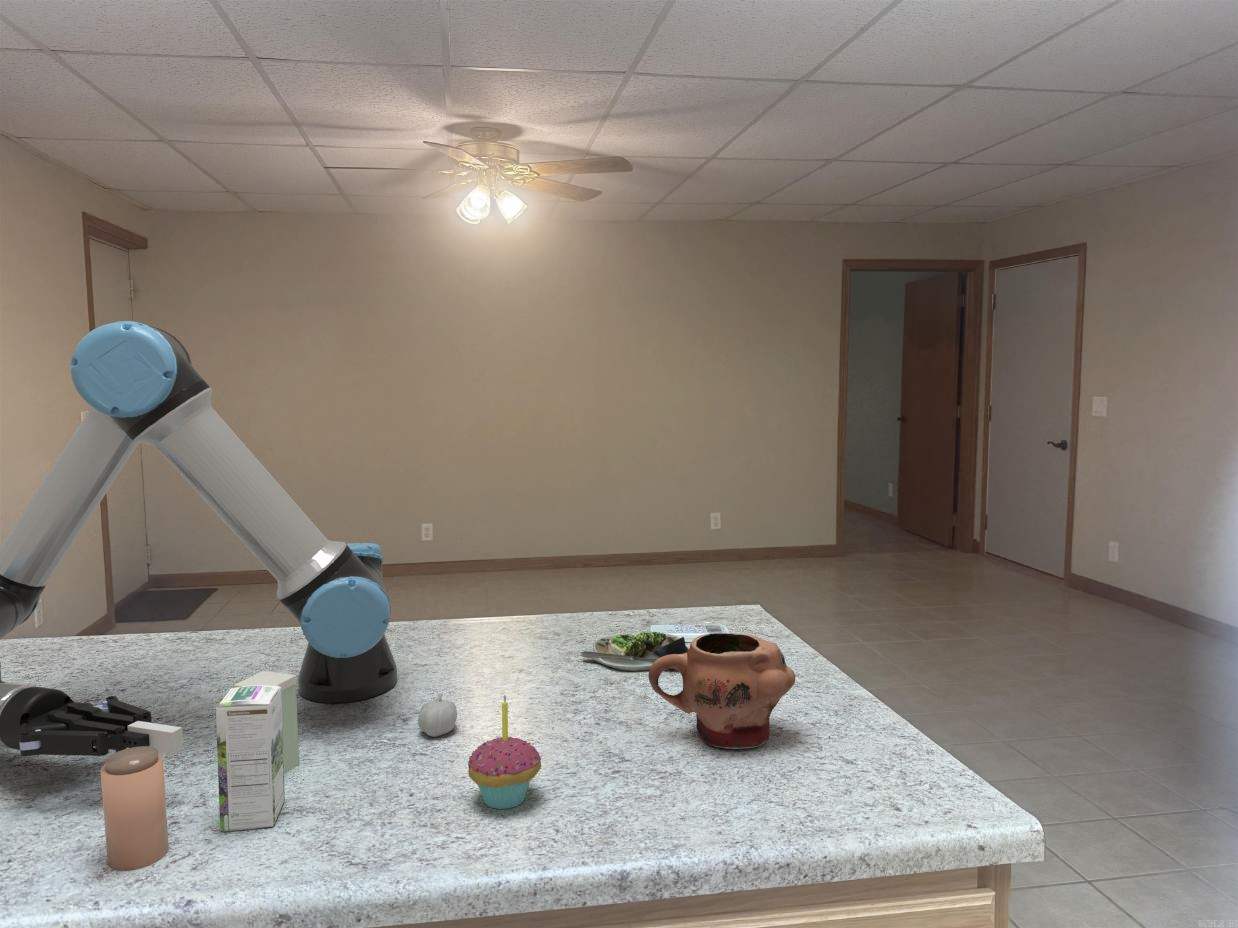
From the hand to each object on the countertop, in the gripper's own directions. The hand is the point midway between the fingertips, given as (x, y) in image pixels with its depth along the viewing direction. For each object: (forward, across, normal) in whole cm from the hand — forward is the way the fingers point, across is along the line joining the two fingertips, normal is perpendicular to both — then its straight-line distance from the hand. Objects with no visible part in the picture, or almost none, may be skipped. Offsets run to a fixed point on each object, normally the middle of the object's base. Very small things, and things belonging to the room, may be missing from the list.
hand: (177, 741), depth 98 cm
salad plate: (+39, -65, -8) cm, 76 cm away
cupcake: (+36, -12, -8) cm, 39 cm away
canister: (+4, +10, -8) cm, 13 cm away
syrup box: (+10, 0, -8) cm, 13 cm away
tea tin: (+4, -10, -8) cm, 13 cm away
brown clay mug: (+57, -36, -8) cm, 68 cm away
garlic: (+19, -26, -8) cm, 33 cm away
